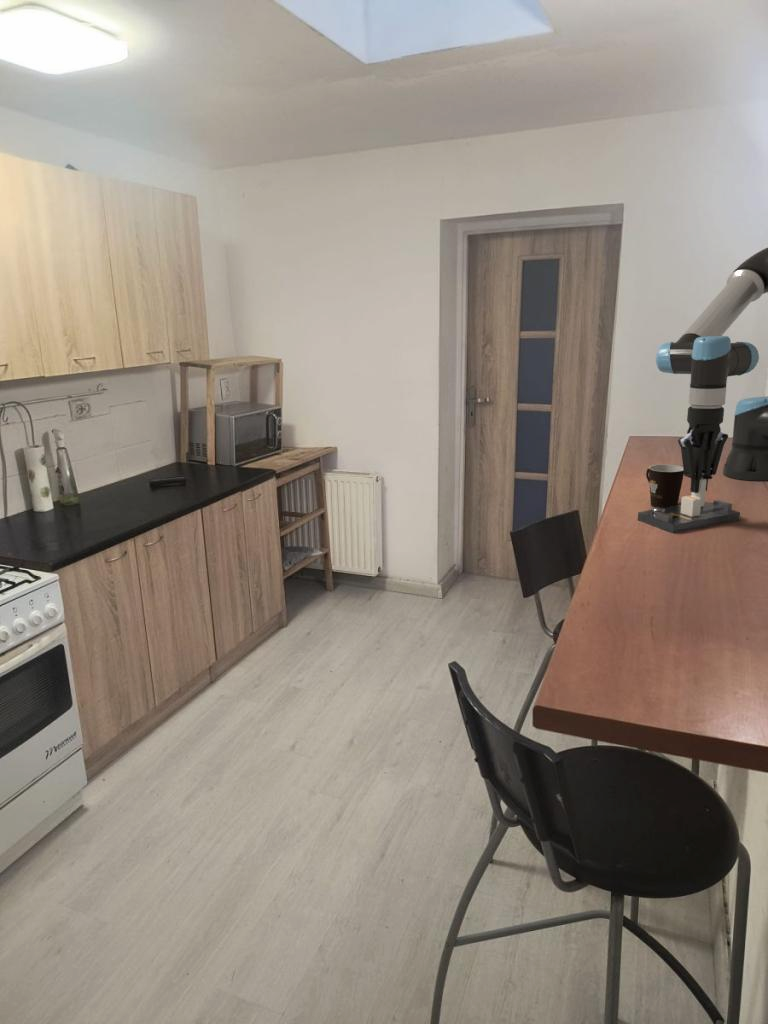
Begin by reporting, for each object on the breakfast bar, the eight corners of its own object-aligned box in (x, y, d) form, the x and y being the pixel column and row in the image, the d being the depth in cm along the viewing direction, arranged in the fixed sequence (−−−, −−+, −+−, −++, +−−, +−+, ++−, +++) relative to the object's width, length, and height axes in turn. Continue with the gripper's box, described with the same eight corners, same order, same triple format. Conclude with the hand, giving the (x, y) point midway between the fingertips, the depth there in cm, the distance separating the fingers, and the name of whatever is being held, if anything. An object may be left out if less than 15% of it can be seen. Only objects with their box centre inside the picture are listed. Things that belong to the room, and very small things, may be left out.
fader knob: (688, 511, 161) (689, 494, 160) (699, 515, 158) (701, 498, 156) (680, 512, 160) (681, 496, 159) (691, 516, 157) (693, 499, 156)
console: (701, 508, 170) (702, 494, 169) (739, 520, 159) (740, 505, 158) (637, 520, 163) (638, 506, 162) (672, 533, 153) (673, 518, 152)
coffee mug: (685, 510, 169) (688, 471, 166) (649, 510, 171) (651, 472, 168) (675, 498, 180) (678, 461, 177) (641, 497, 182) (644, 462, 179)
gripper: (714, 401, 158) (706, 497, 164) (671, 406, 154) (664, 505, 160) (741, 405, 151) (731, 505, 158) (696, 410, 147) (687, 512, 153)
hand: (697, 505), depth 159 cm, fingers closed
